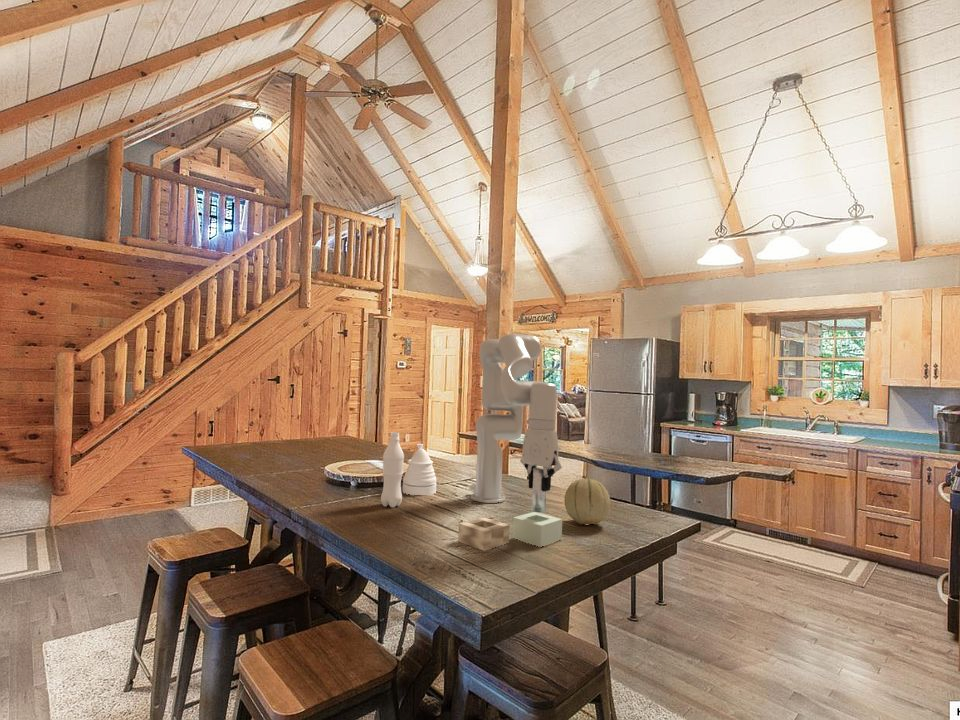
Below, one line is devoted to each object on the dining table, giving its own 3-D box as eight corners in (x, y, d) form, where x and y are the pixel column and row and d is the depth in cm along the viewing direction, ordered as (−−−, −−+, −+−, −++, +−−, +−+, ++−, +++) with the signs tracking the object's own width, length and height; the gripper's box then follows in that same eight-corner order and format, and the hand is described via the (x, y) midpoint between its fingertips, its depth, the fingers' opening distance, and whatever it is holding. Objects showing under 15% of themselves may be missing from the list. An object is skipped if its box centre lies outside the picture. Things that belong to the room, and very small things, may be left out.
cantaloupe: (586, 533, 155) (588, 483, 155) (553, 520, 167) (555, 474, 167) (619, 527, 163) (621, 480, 163) (586, 515, 175) (588, 471, 176)
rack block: (512, 538, 147) (513, 517, 147) (533, 531, 154) (534, 511, 155) (540, 547, 140) (541, 525, 140) (561, 540, 148) (562, 519, 148)
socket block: (458, 541, 142) (458, 523, 143) (482, 534, 150) (483, 516, 150) (484, 551, 136) (485, 532, 136) (508, 543, 143) (509, 525, 143)
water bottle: (377, 507, 174) (380, 432, 174) (385, 502, 181) (389, 430, 181) (396, 509, 172) (400, 434, 173) (404, 504, 179) (408, 432, 180)
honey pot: (398, 488, 202) (400, 442, 202) (429, 487, 207) (431, 442, 207) (408, 496, 190) (410, 447, 190) (440, 494, 195) (443, 447, 196)
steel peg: (528, 510, 147) (530, 468, 148) (536, 508, 150) (538, 466, 151) (539, 513, 145) (541, 470, 145) (548, 511, 148) (549, 469, 148)
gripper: (511, 423, 151) (508, 485, 151) (558, 429, 140) (555, 496, 139) (527, 422, 157) (524, 482, 156) (573, 427, 145) (571, 493, 145)
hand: (539, 488), depth 148 cm, fingers closed on steel peg, 4 cm apart
